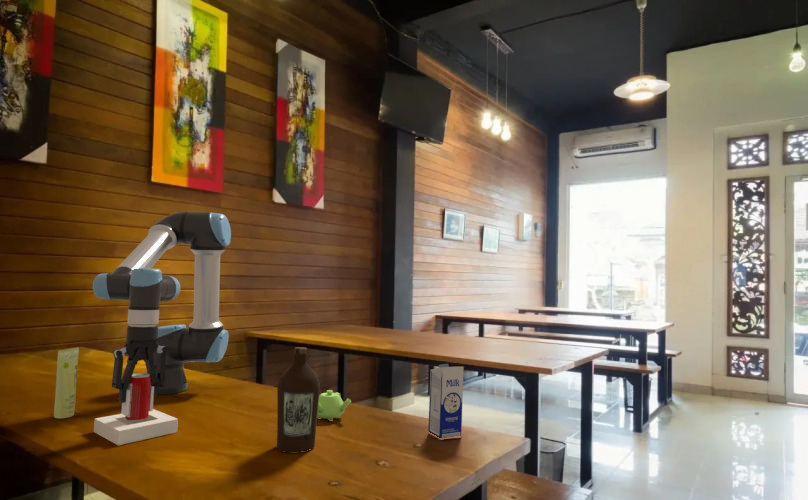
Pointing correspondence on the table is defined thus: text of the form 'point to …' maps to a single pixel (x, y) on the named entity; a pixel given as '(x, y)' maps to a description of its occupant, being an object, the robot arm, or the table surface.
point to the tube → (66, 383)
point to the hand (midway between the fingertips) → (137, 412)
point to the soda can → (139, 397)
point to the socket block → (135, 427)
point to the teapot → (331, 405)
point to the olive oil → (297, 405)
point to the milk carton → (446, 401)
